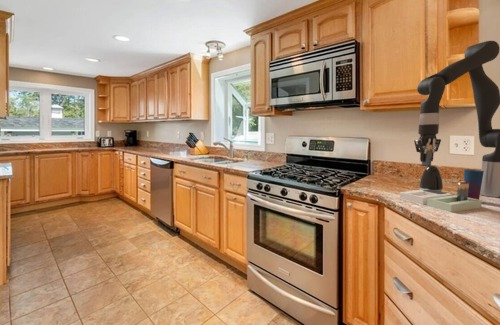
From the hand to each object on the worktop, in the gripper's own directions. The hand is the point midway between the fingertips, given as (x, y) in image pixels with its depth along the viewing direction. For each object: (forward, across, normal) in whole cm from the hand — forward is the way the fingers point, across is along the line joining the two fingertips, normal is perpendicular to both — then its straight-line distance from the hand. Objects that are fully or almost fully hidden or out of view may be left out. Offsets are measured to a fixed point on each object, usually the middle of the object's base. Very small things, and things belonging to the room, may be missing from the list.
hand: (426, 161), depth 121 cm
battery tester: (+19, -3, -2) cm, 19 cm away
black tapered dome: (+19, -16, -10) cm, 27 cm away
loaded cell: (+19, -8, +11) cm, 23 cm away
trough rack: (+19, -3, +11) cm, 22 cm away
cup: (+19, -19, +8) cm, 28 cm away
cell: (+2, 0, 0) cm, 2 cm away
